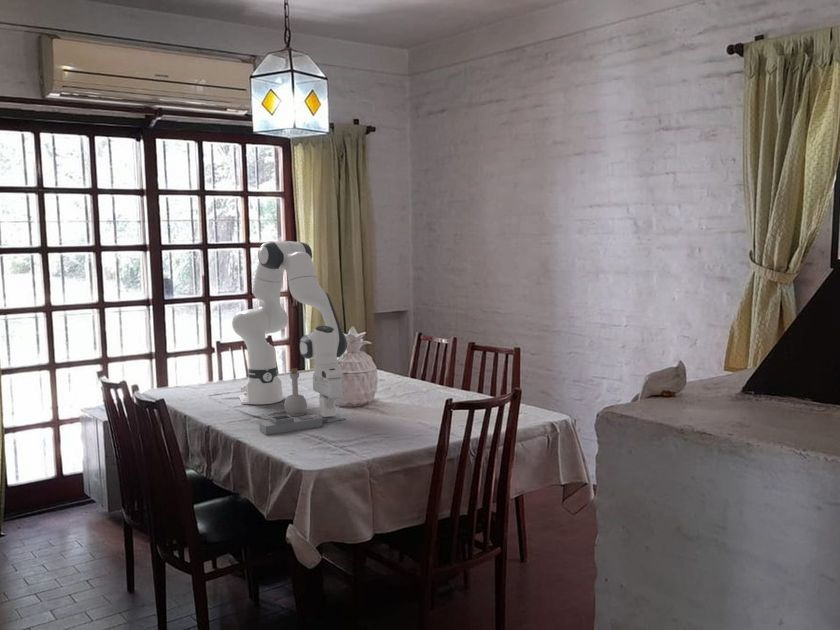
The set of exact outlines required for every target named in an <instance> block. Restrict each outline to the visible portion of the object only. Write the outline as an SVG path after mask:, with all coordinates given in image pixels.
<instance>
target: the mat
mask: <svg viewBox="0 0 840 630" xmlns="http://www.w3.org/2000/svg"><path fill="white" fill-rule="evenodd" d="M318 416H319V417H321V418H322V419H326V418H327V419H328V421H327V423H332V422H333V421H334V422H340V421H339V420H341V421H345V420H347V418H346V417H345V416H342V415H340V414H338V413H336V415H335V416H328V417H324V416H322V415H320V414H318ZM334 422H333V423H334ZM322 423H323V424H327V423H326V422H322Z"/></svg>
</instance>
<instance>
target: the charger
mask: <svg viewBox="0 0 840 630" xmlns="http://www.w3.org/2000/svg"><path fill="white" fill-rule="evenodd" d="M318 399H319V415H322V416H324V417H328V416H335V415H336V414H337V411H336V399H335V400H334V404H333V408H332V409H329V408H328V405H327V404H328V401H329V400H328V397H327V396H321V398H320V397H319V398H318Z"/></svg>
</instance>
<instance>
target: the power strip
mask: <svg viewBox="0 0 840 630" xmlns="http://www.w3.org/2000/svg"><path fill="white" fill-rule="evenodd" d="M327 421H328V419H327V418H326V419H322V418H321V417H319V415H317V414H310V415H300V416H289V415H287V414H281V415H273V416H269V419H268V420H266V421H260V422H259V432H261V433H262V434H264V435H265V436H267V435H275V434H280V433H287V432H294V431H301V430H307V429H314V428H313V427H315V428H319V427H320V426H322V427H323V426H324V425H323V424H324V423H322V422H327ZM327 423H328V422H327Z"/></svg>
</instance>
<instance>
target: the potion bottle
mask: <svg viewBox="0 0 840 630" xmlns="http://www.w3.org/2000/svg"><path fill="white" fill-rule="evenodd" d="M289 377H290V379H291V386H292V387H291V389H292V391H291V392H292V394H291V395H287V396H286V399H284V400H285V401H284V405H283V406H284V411H285V413H287V414H286V415H289V416H291V417H301V416H304V415H306V411H307V407H308V402H307V400H306V398H305V397H304V395H302V394H299V383H298V382H299V381H298V379H299V377H300V373H299V372H298V368H296V367H295V368H294V367H293V368H291V369H290V373H289ZM303 414H304V415H303Z"/></svg>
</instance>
